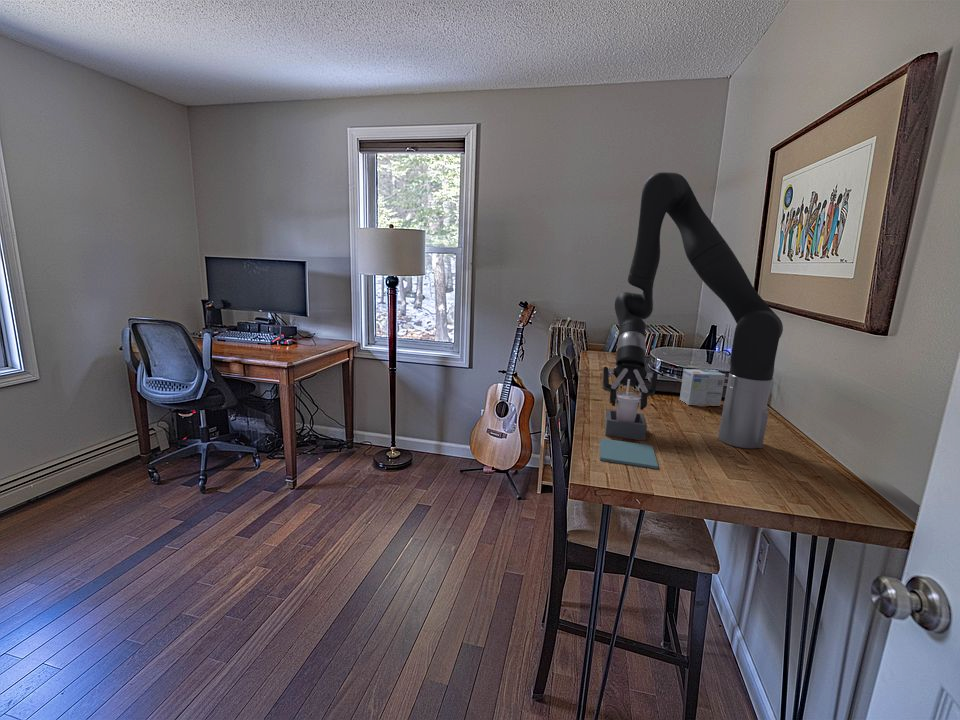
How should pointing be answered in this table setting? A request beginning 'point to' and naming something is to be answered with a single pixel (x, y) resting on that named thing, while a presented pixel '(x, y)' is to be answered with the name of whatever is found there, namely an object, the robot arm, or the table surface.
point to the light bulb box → (702, 387)
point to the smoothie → (627, 405)
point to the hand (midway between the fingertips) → (627, 406)
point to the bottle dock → (625, 426)
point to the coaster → (627, 453)
